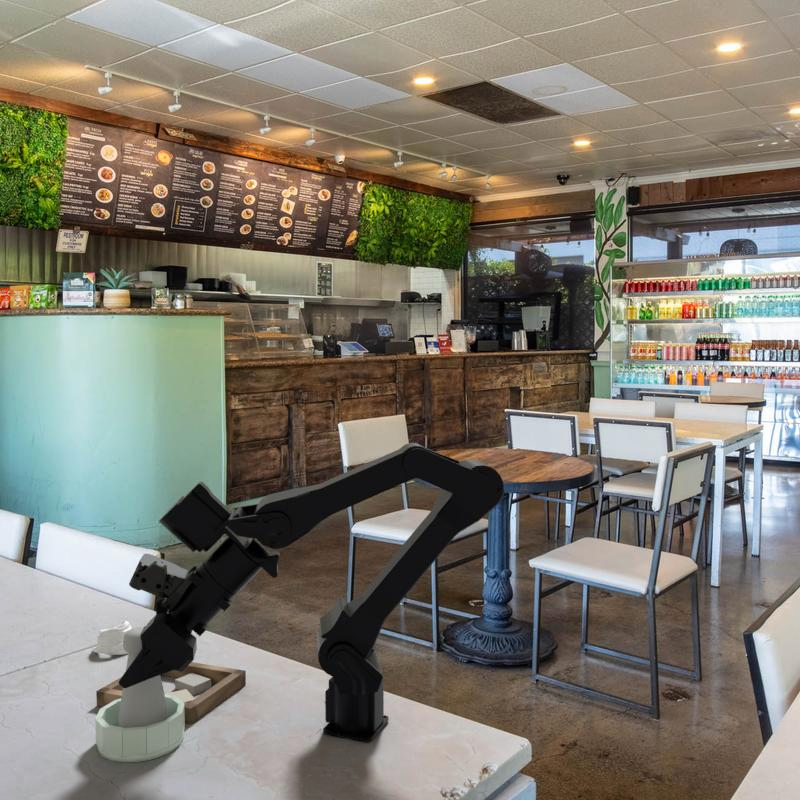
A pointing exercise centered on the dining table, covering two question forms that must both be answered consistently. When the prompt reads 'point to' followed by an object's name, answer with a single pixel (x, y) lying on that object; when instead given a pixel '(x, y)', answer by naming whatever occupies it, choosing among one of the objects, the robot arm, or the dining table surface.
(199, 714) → the tray
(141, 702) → the salt shaker
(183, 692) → the beige rectangular block
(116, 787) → the dining table surface
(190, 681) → the off-white rectangular block
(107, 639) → the whipped cream
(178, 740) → the bowl
